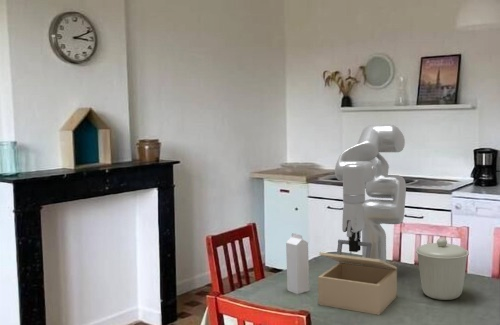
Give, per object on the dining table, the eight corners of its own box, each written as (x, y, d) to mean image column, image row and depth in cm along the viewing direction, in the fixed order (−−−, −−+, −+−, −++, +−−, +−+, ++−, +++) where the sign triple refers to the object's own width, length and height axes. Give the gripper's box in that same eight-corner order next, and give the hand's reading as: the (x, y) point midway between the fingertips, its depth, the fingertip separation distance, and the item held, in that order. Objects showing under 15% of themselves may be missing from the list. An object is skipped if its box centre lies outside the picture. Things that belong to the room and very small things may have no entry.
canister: (434, 307, 188) (434, 246, 186) (406, 290, 205) (405, 235, 203) (479, 300, 192) (480, 241, 190) (448, 285, 210) (448, 230, 208)
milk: (297, 294, 205) (296, 236, 203) (287, 290, 210) (285, 234, 208) (309, 290, 209) (308, 234, 206) (299, 286, 214) (297, 231, 211)
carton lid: (339, 262, 210) (342, 245, 211) (396, 269, 198) (398, 251, 200) (319, 254, 194) (321, 236, 195) (379, 261, 182) (382, 242, 183)
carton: (340, 287, 211) (339, 262, 210) (397, 296, 199) (396, 269, 198) (318, 304, 194) (317, 276, 193) (379, 314, 182) (378, 285, 181)
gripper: (352, 195, 199) (352, 244, 201) (335, 201, 186) (336, 255, 188) (372, 196, 196) (372, 246, 197) (356, 203, 182) (357, 257, 184)
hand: (354, 250), depth 193 cm, fingers closed
